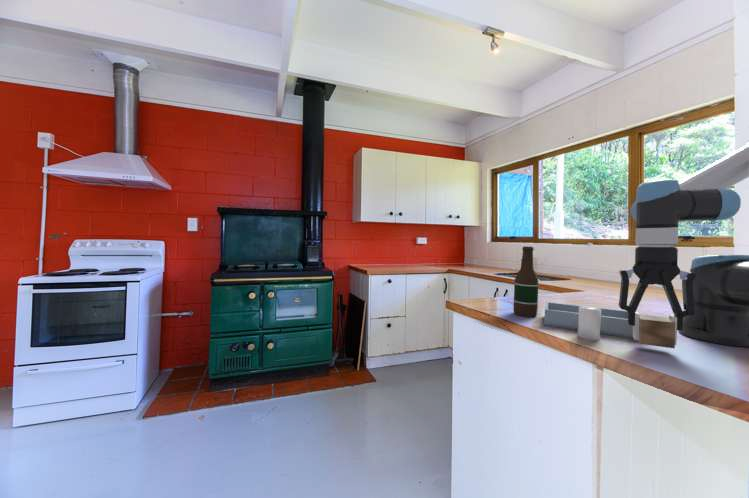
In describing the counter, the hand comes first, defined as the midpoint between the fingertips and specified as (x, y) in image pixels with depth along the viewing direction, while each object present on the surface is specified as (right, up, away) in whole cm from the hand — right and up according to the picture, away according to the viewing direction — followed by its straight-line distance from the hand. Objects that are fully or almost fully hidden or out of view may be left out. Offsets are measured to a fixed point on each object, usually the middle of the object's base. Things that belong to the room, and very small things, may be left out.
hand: (653, 340), depth 74 cm
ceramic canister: (-9, -2, +9) cm, 13 cm away
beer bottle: (-15, -1, +33) cm, 36 cm away
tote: (-2, -2, +20) cm, 20 cm away
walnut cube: (0, 0, 0) cm, 0 cm away
